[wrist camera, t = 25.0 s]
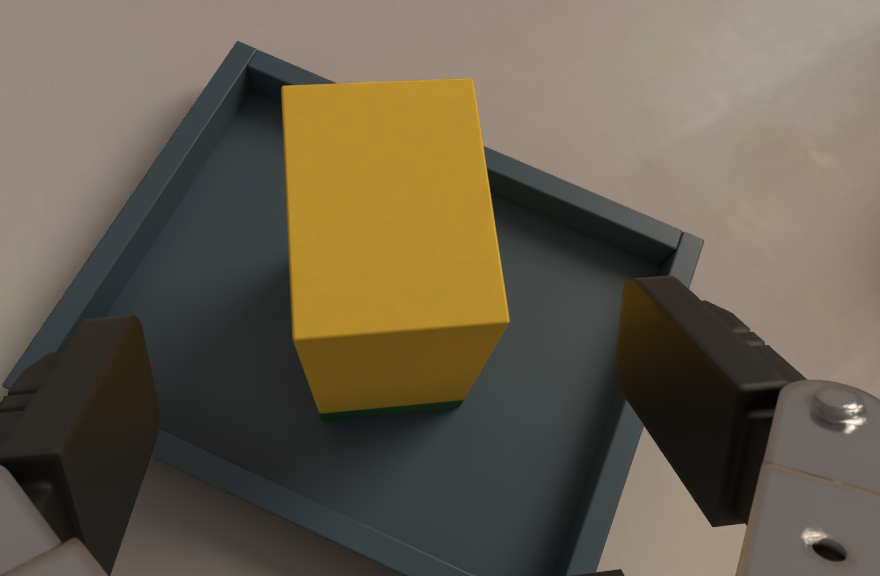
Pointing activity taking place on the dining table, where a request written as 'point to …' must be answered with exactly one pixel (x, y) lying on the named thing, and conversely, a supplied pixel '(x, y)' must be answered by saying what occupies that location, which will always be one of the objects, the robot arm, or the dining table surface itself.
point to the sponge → (390, 244)
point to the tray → (383, 436)
